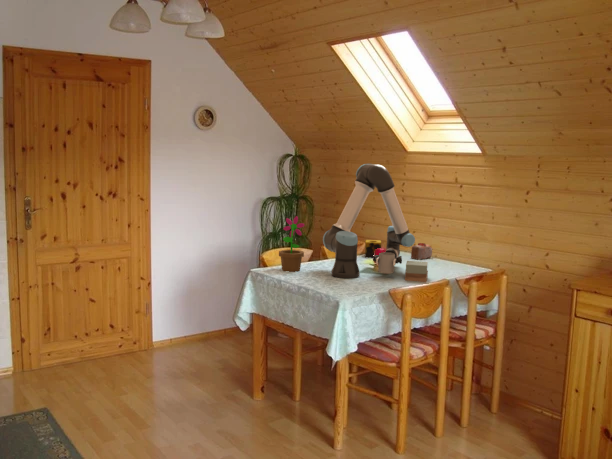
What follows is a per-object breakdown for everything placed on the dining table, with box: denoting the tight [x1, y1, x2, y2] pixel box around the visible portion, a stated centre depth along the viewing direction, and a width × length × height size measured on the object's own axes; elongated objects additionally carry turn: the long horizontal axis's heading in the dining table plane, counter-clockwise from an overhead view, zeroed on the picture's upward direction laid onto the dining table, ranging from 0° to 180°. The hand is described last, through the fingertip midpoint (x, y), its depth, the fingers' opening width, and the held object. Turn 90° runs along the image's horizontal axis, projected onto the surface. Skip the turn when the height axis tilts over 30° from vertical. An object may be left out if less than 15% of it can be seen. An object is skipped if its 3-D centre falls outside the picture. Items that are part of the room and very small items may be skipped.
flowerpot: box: [278, 215, 305, 273], centre depth 352 cm, size 14×14×30 cm
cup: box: [377, 251, 395, 275], centre depth 342 cm, size 8×8×10 cm
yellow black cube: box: [364, 239, 382, 258], centre depth 402 cm, size 10×10×10 cm
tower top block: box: [405, 260, 429, 274], centre depth 338 cm, size 11×11×4 cm
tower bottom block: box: [404, 269, 429, 283], centre depth 339 cm, size 11×11×4 cm
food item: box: [410, 242, 433, 261], centre depth 400 cm, size 14×8×10 cm, turn 133°
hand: (385, 262), depth 337 cm, fingers closed on cup, 8 cm apart
